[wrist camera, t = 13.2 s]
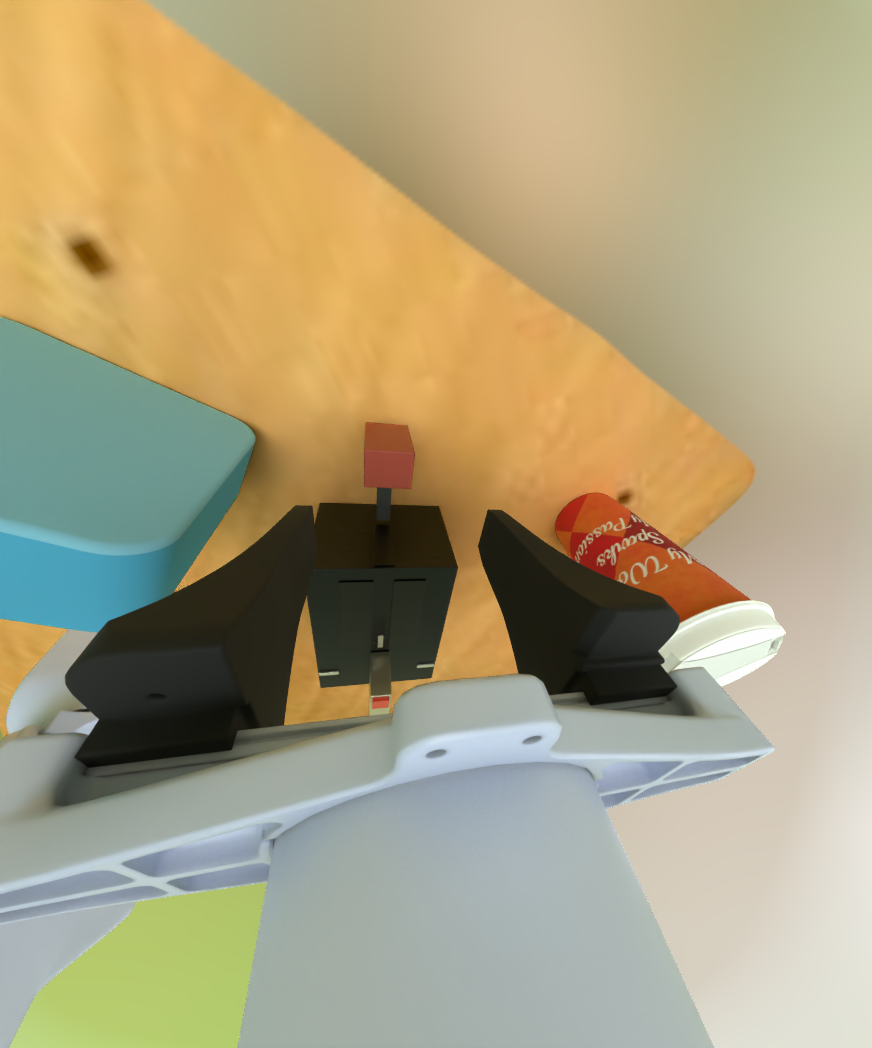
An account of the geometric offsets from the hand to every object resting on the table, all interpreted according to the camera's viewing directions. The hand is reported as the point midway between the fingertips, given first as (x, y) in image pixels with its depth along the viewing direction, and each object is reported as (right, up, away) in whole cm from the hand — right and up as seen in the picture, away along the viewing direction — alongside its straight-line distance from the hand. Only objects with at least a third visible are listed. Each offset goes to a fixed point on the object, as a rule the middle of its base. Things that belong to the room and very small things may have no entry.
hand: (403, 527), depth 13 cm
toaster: (-4, -4, +15) cm, 16 cm away
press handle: (-2, +3, +7) cm, 8 cm away
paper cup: (+15, +1, +15) cm, 21 cm away
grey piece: (-3, -11, +11) cm, 16 cm away
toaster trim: (-3, -2, +12) cm, 12 cm away
